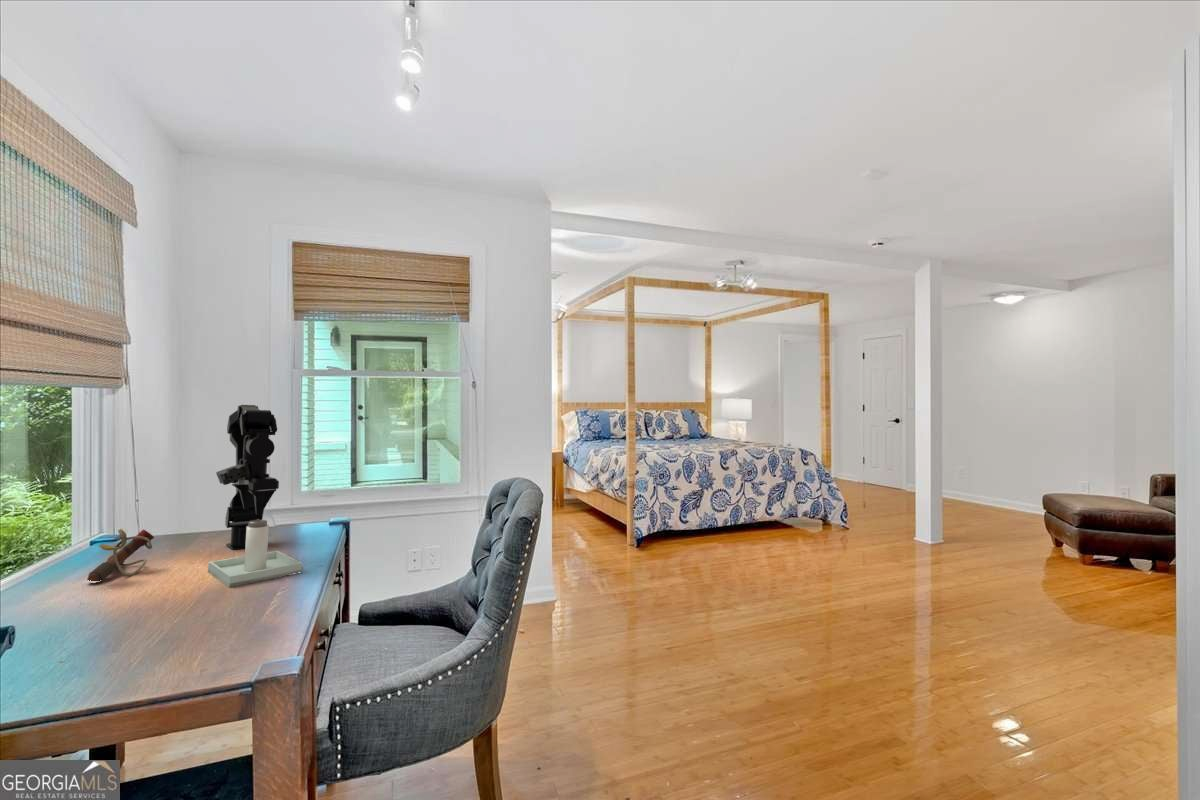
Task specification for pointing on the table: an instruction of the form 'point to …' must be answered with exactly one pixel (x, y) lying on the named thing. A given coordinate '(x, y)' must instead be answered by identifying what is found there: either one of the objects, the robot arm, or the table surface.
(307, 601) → the table surface
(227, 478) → the robot arm
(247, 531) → the jar with lid
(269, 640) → the table surface
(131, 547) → the slingshot
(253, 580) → the bin
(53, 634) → the table surface
